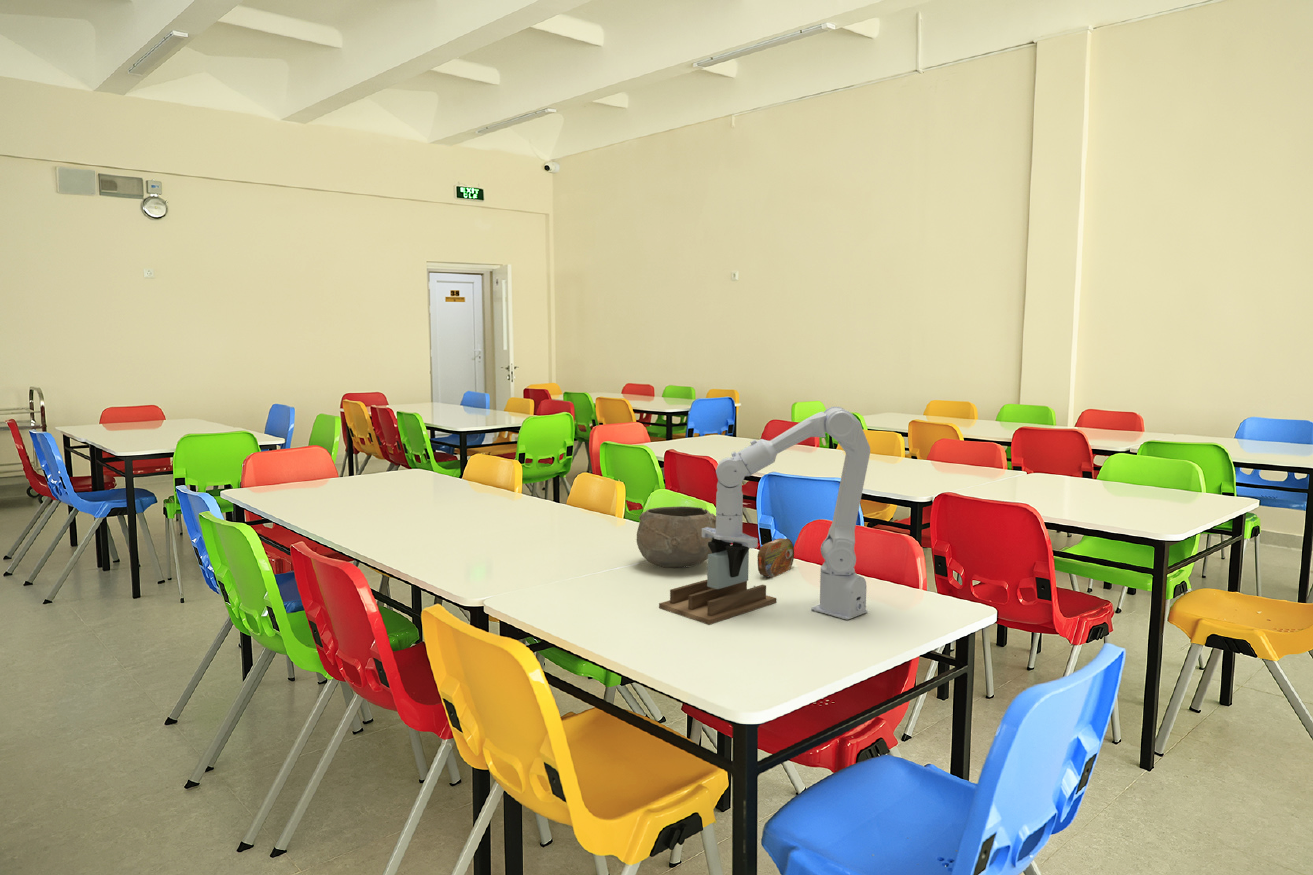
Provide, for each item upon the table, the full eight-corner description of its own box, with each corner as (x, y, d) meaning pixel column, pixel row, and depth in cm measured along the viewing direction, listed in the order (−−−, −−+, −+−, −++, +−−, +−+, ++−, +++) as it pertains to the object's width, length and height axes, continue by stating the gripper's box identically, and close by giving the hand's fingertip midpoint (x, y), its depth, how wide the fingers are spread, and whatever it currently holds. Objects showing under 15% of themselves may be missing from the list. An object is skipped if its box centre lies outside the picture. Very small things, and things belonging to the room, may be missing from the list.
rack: (776, 602, 190) (776, 585, 190) (709, 624, 175) (709, 605, 174) (726, 588, 201) (726, 571, 200) (659, 607, 186) (659, 590, 185)
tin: (765, 581, 207) (766, 547, 206) (754, 578, 209) (755, 545, 208) (795, 568, 219) (795, 536, 218) (784, 566, 221) (785, 534, 220)
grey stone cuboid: (748, 580, 188) (748, 549, 187) (717, 589, 181) (718, 557, 180) (737, 577, 190) (738, 547, 189) (707, 586, 183) (707, 554, 182)
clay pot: (620, 565, 221) (620, 508, 219) (678, 552, 234) (678, 499, 233) (676, 583, 205) (676, 521, 203) (734, 567, 219) (735, 510, 217)
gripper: (692, 510, 186) (691, 571, 188) (742, 521, 176) (741, 585, 177) (714, 506, 191) (713, 565, 192) (764, 516, 180) (763, 578, 182)
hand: (728, 574), depth 185 cm, fingers closed on grey stone cuboid, 3 cm apart
